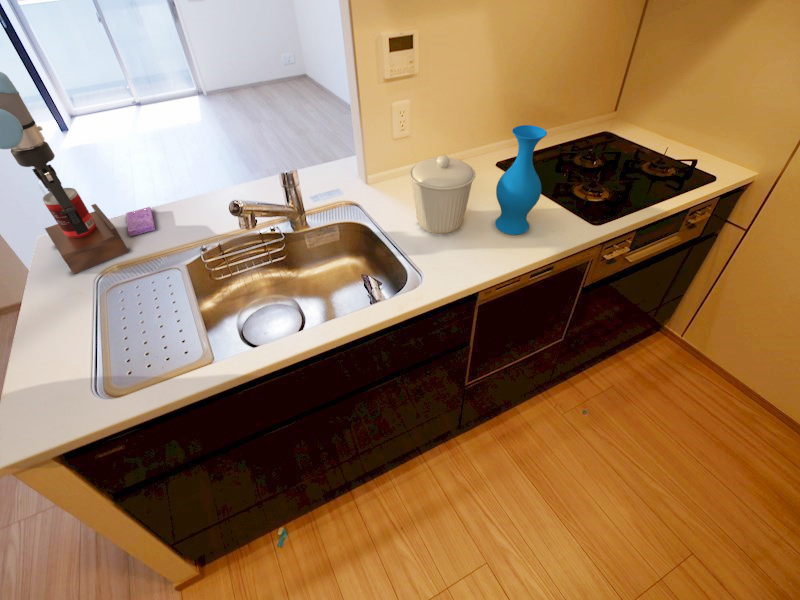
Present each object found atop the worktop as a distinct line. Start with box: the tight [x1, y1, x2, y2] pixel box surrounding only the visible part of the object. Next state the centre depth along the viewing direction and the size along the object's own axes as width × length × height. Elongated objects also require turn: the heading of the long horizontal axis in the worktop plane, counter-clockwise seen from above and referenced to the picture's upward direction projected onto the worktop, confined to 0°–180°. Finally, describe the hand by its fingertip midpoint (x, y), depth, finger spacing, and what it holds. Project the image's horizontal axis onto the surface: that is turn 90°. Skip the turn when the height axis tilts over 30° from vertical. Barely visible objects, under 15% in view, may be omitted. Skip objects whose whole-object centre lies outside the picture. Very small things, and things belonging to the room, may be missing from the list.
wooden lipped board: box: [44, 203, 130, 275], centre depth 118 cm, size 14×18×8 cm
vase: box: [494, 124, 548, 236], centre depth 116 cm, size 12×13×28 cm
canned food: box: [42, 187, 96, 238], centre depth 113 cm, size 8×8×11 cm
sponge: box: [125, 206, 156, 237], centre depth 129 cm, size 7×13×2 cm, turn 28°
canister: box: [408, 154, 477, 235], centre depth 120 cm, size 18×18×21 cm
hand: (75, 222), depth 115 cm, fingers open, 13 cm apart
